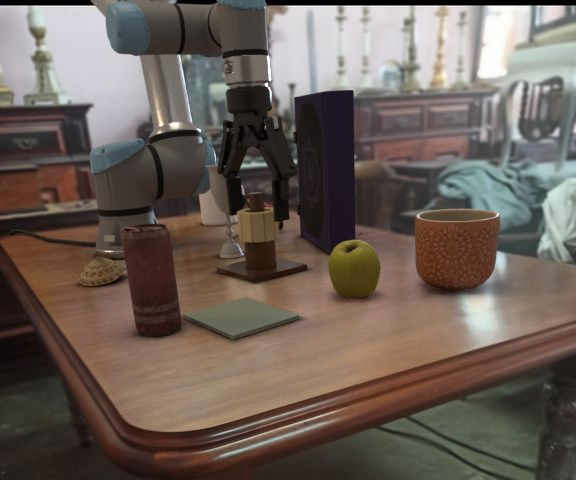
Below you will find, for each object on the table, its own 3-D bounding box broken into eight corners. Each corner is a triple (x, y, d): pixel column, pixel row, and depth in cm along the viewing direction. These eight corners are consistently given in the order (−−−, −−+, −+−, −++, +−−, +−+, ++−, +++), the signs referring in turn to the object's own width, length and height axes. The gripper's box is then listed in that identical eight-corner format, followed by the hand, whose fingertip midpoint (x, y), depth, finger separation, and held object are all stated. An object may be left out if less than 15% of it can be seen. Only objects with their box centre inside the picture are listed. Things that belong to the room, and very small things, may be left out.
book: (357, 252, 118) (355, 89, 107) (327, 255, 117) (322, 91, 106) (323, 233, 140) (319, 95, 129) (298, 235, 138) (291, 97, 127)
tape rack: (216, 272, 109) (208, 195, 104) (268, 260, 116) (263, 187, 111) (254, 283, 100) (247, 199, 95) (307, 269, 107) (304, 190, 102)
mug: (207, 227, 157) (203, 187, 153) (198, 222, 165) (194, 184, 162) (251, 221, 161) (248, 183, 157) (240, 217, 170) (237, 180, 166)
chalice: (242, 259, 118) (234, 165, 111) (210, 259, 119) (200, 167, 113) (251, 251, 125) (244, 162, 118) (221, 251, 126) (212, 164, 119)
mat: (183, 318, 84) (182, 314, 84) (245, 300, 91) (245, 297, 90) (233, 339, 75) (233, 335, 75) (299, 319, 81) (299, 315, 81)
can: (138, 324, 83) (122, 224, 78) (183, 320, 83) (170, 221, 78) (131, 339, 77) (113, 232, 72) (179, 335, 78) (165, 228, 72)
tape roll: (231, 239, 106) (229, 211, 104) (263, 233, 110) (261, 206, 109) (254, 244, 101) (252, 214, 99) (287, 237, 105) (285, 209, 103)
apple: (356, 277, 96) (366, 220, 90) (384, 302, 90) (396, 243, 84) (314, 285, 93) (321, 227, 87) (340, 312, 87) (349, 252, 81)
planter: (450, 301, 85) (454, 225, 81) (397, 283, 95) (398, 215, 91) (513, 286, 90) (519, 214, 86) (456, 271, 100) (459, 206, 96)
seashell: (135, 262, 110) (110, 254, 103) (133, 292, 110) (107, 286, 103) (98, 261, 113) (71, 253, 105) (96, 290, 113) (68, 285, 105)
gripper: (190, 93, 104) (203, 215, 111) (276, 79, 85) (285, 226, 93) (225, 92, 108) (236, 209, 116) (315, 79, 89) (320, 219, 97)
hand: (258, 217), depth 104 cm, fingers open, 13 cm apart
